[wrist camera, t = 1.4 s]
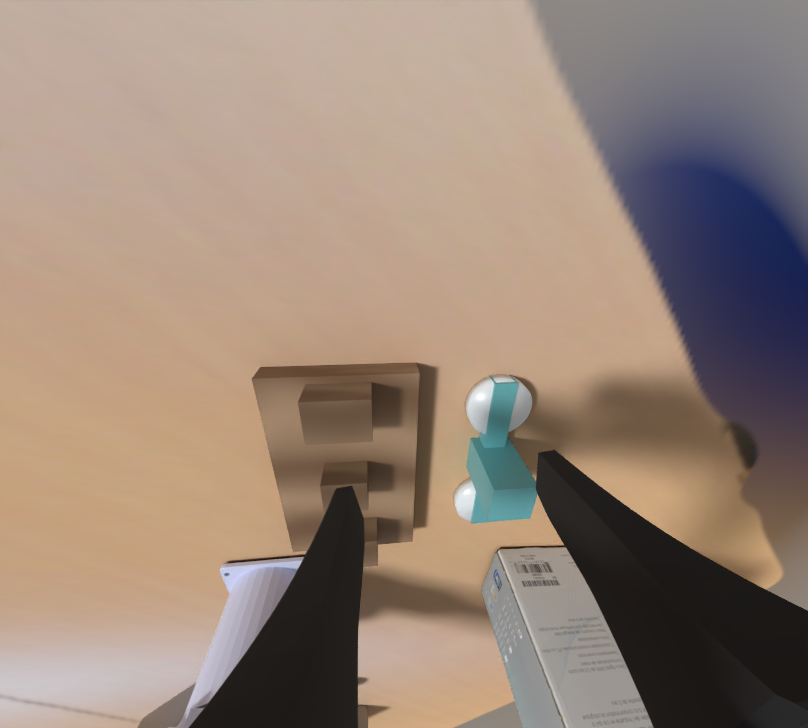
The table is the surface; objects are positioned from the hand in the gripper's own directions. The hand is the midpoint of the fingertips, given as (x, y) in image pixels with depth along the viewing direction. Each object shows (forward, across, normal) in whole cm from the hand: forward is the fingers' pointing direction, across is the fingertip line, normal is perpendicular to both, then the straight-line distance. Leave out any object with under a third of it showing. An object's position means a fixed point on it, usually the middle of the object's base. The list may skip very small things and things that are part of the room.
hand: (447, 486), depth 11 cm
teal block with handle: (+10, -4, +9) cm, 14 cm away
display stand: (+9, +6, +7) cm, 13 cm away
